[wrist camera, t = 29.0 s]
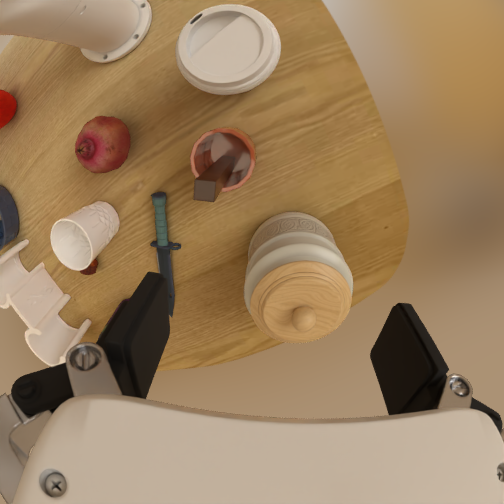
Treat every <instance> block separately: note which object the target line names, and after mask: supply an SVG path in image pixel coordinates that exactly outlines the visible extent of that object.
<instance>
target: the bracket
mask: <svg viewBox="0 0 504 504" xmlns="http://www.w3.org/2000/svg"><path fill="white" fill-rule="evenodd" d="M28 244H29V241H28V240H27V239H25V240H23V241H21V242H19V243H18V244H16V245H15V246H14V247H12V248H11V249H10V250H8V251H7V252H6V253H4V254H3V255H2V256H0V307H2V308H4V309H6V308H8V307H9V306H10V305H11V306H12V307H13V308H14V310H15V311H16V312H17V313H18V315H19V316H20V317H21V319H22V320H23V321H24V322H25V324H26V325H27V326H28V329H27V330H26V332H25V339H26V342H27V344H28V346H29V347H30V349H31V350H32V351H33V353H34V354H35V355H36V356H37V357H38V358H39V359H40V360H42V361H43V362H44V363H46V364H48V365H49V366H51V367H53V366H56V365H59V364H62V363H65V362H66V359H65V357H66V354H67V352H68V351H69V350H70V348H72V347H73V346H74V345H76V344H78V343H79V341H80V340H81V338H82V337H83V335H84V334H85V332H86V331H87V329H88V328H89V326H90V325H91V321H90V320H89V319H86V320H85V321H84V322H83V324H82V325H81V327H80V328H79V329H76V328H73V327H71V326H69V325H67V324H66V323H65V322H64V321H63V320H62V319H61V318H60V316H59V314H58V313H59V311H60V310H61V309H62V308H63V307H64V305H65V304H66V303H67V302H68V301H69V300H70V299H71V297H70V295H69V294H63V292H62V291H61V290H60V288H59V287H58V286H57V285H56V283H55V282H54V281H53V279H52V278H51V276H50V275H49V274H48V272H47V271H46V270H45V268H44V263H43V262H41V263H40V264H39V265H38V266H36V267H35V268H34V269H33V270H32V271H31V272H30V273H29V272H28V271H27V270H26V269H25V268H24V267H23V265H22V264H21V261H20V259H19V251H20V250H21V249H23V248H24V247H26V246H27V245H28Z"/></svg>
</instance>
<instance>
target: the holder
mask: <svg viewBox="0 0 504 504" xmlns="http://www.w3.org/2000/svg"><path fill="white" fill-rule="evenodd" d="M221 156H231V157H235V163H234V170H233V171H232V173H231V175H230V176H229V178H228V180H227V181H226V183H225V185H224V186H223V188H222V190H221V191H222V192H227V191H230V190H234V189H237V188H239V187H241V186H242V185H243V184H244V183H245V182H246V181H247V180H248V179H249V178H250V177H251V174H252V172H253V169H254V166H255V163H256V148H255V145H254V143H253V141H252V139H251V138H250V137H249V135H248V134H246V133H245V132H243V131H241V130H240V129H238V128H231V127H222V128H217V129H214V130H211V131H209V132H206V133H204V134H203V135H202V136H201V137H200V138H199V139H198V140H197V141H196V142H195V143H194V146H193V149H192V152H191V155H190V162H191V169H192V172H193V174H194V175H195V177H196V178H197V177H198V176H199V175H201V174H202V173H203V172H204V171H205V170H206V169H207V168H209V167H210V166H211V165H212V164H213V163H214V162H215V161H217V160H218V159H219V158H220V157H221Z"/></svg>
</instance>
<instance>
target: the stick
mask: <svg viewBox="0 0 504 504" xmlns="http://www.w3.org/2000/svg"><path fill="white" fill-rule="evenodd" d="M234 163H235V157H231V156H221V157H220V158H219V159H218V160H217V161H215V162H214V163H213V164H212V165H211V166H210V167H209V168H207V169H206V170H205V171H204V172H203V173H202V174H201V175H199V176H198V177H197V178H196V179H195V185H194V200H200V201H208V202H214V201H215V200H216V198H217V196H218V195H219V193H220V191H221V190H222V188H223V186H224V185H225V183H226V181H227V180H228V178H229V176H230V175H231V173H232V171H233V170H234Z"/></svg>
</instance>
